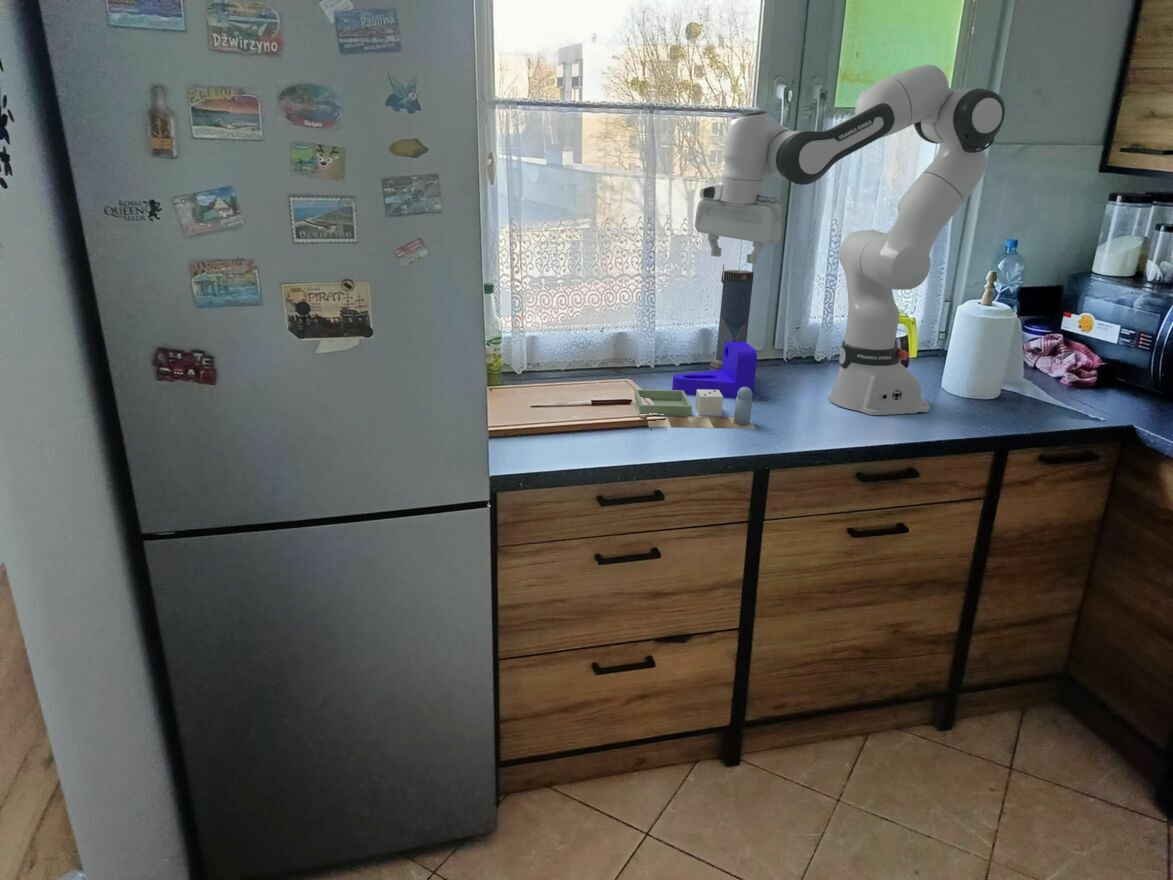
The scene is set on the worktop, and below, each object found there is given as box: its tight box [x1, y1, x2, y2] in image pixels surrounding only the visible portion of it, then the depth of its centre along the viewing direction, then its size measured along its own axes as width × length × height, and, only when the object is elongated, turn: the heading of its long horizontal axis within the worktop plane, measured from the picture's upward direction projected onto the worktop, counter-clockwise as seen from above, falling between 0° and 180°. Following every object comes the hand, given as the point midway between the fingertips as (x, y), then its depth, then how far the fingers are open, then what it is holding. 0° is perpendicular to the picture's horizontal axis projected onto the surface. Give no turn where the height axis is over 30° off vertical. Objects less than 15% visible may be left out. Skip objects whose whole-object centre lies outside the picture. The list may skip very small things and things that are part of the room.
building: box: [709, 264, 755, 371], centre depth 214 cm, size 10×9×30 cm
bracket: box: [671, 342, 758, 399], centre depth 207 cm, size 18×11×12 cm, turn 99°
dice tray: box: [634, 389, 692, 416], centre depth 196 cm, size 11×11×3 cm
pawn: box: [733, 387, 753, 425], centre depth 187 cm, size 3×3×8 cm
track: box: [647, 415, 756, 430], centre depth 188 cm, size 22×7×1 cm, turn 93°
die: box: [694, 389, 724, 417], centre depth 194 cm, size 5×5×5 cm
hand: (733, 259), depth 188 cm, fingers open, 8 cm apart
